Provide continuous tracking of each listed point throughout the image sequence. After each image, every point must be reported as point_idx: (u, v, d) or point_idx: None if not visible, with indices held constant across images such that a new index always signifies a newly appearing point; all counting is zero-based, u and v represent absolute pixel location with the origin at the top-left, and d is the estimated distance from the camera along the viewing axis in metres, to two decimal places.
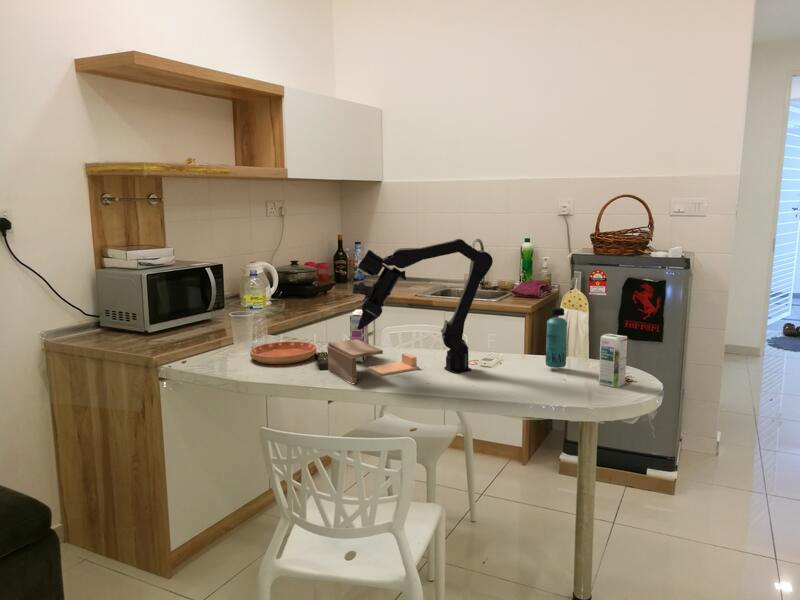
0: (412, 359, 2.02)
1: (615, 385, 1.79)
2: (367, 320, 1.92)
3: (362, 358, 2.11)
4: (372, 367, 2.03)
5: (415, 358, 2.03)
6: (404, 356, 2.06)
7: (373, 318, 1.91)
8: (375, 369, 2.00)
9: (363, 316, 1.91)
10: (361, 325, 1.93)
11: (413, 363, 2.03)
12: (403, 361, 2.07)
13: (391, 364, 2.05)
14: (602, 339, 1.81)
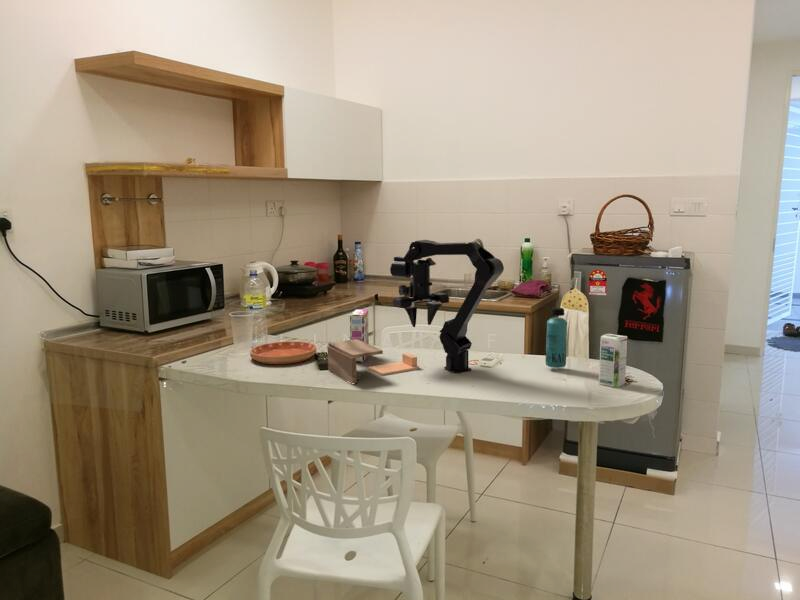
0: (412, 359, 2.02)
1: (615, 385, 1.79)
2: (411, 315, 2.03)
3: (362, 358, 2.11)
4: (372, 367, 2.03)
5: (415, 358, 2.03)
6: (404, 356, 2.06)
7: (411, 311, 2.01)
8: (375, 369, 2.00)
9: (408, 313, 2.04)
10: (412, 322, 2.04)
11: (414, 363, 2.03)
12: (403, 361, 2.07)
13: (391, 364, 2.06)
14: (602, 339, 1.81)
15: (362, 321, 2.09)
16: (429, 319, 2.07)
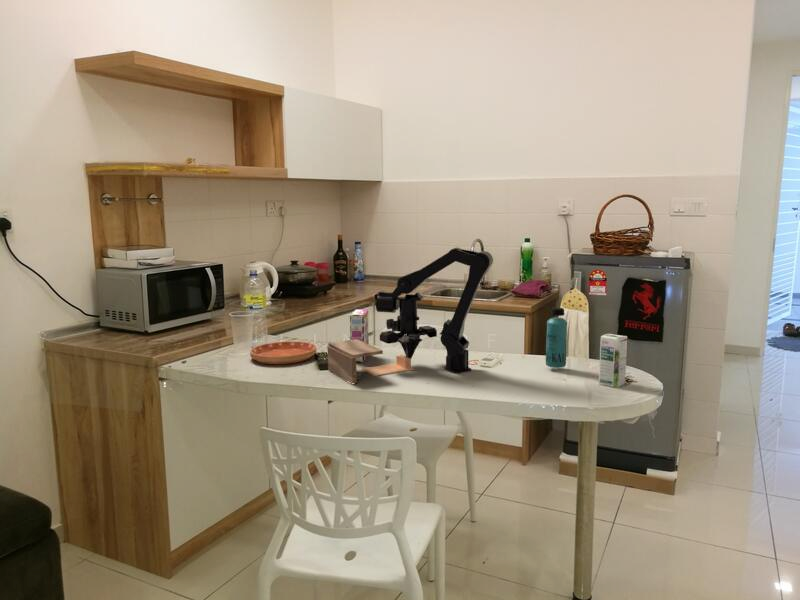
0: (406, 361, 2.02)
1: (615, 385, 1.79)
2: (406, 349, 2.03)
3: (362, 358, 2.11)
4: (366, 368, 2.02)
5: (409, 360, 2.02)
6: (398, 358, 2.05)
7: (406, 345, 2.02)
8: (369, 370, 2.00)
9: (403, 346, 2.05)
10: (406, 355, 2.05)
11: (407, 365, 2.02)
12: (397, 363, 2.06)
13: (385, 366, 2.05)
14: (602, 339, 1.81)
15: (362, 321, 2.09)
16: None
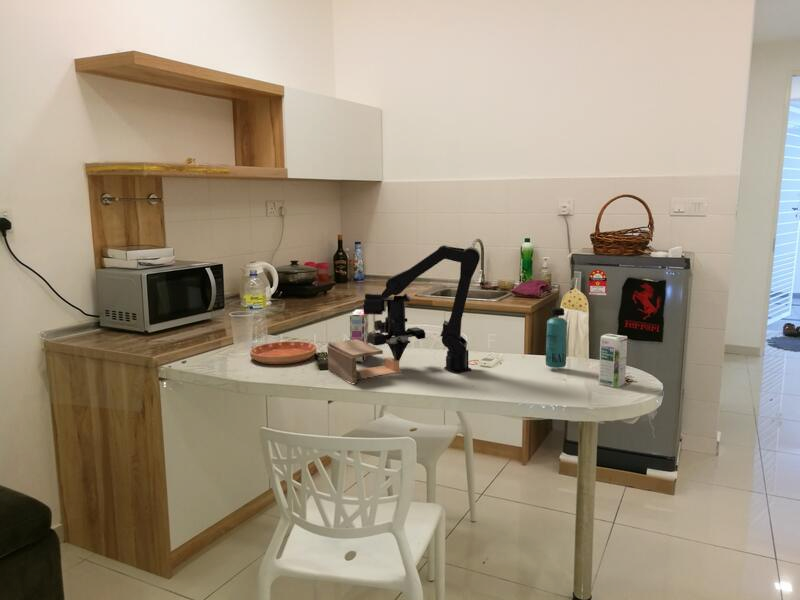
0: (394, 363, 1.99)
1: (615, 385, 1.79)
2: (394, 350, 2.01)
3: (362, 358, 2.11)
4: None
5: (398, 362, 2.00)
6: (387, 360, 2.03)
7: (394, 347, 2.00)
8: None
9: (391, 348, 2.02)
10: (394, 357, 2.03)
11: (396, 367, 2.00)
12: (386, 365, 2.04)
13: (373, 368, 2.02)
14: (602, 339, 1.81)
15: (362, 321, 2.09)
16: None
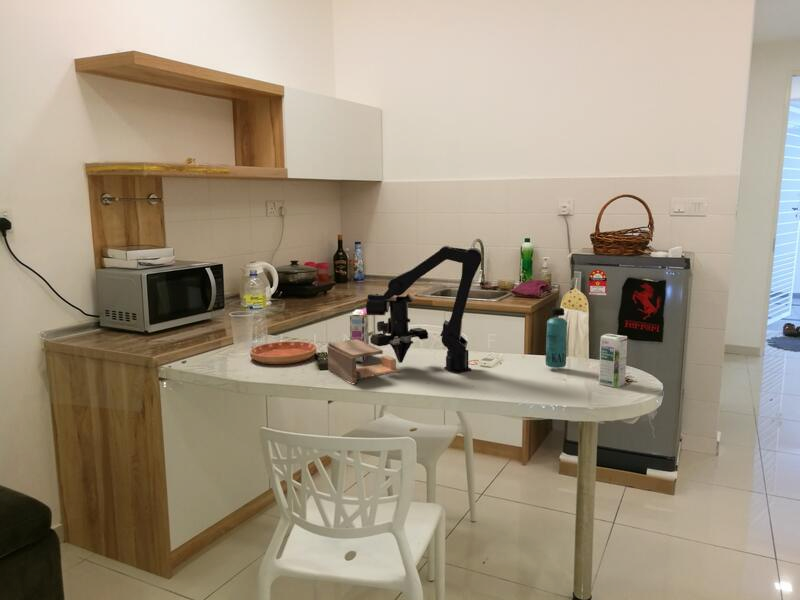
0: (391, 361, 2.00)
1: (615, 385, 1.79)
2: (397, 351, 2.02)
3: (362, 358, 2.11)
4: None
5: (394, 360, 2.00)
6: (384, 358, 2.03)
7: (397, 347, 2.00)
8: None
9: (394, 349, 2.03)
10: (398, 358, 2.03)
11: (392, 365, 2.00)
12: (383, 363, 2.04)
13: (370, 367, 2.03)
14: (602, 339, 1.81)
15: (362, 321, 2.09)
16: None
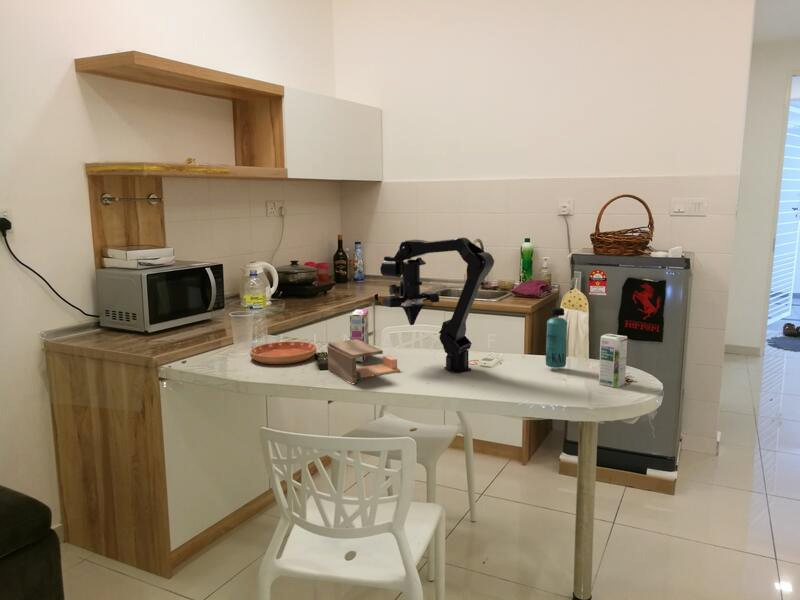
0: (392, 361, 2.00)
1: (615, 385, 1.79)
2: (409, 313, 2.06)
3: (362, 358, 2.11)
4: None
5: (395, 360, 2.01)
6: (385, 358, 2.04)
7: (409, 309, 2.04)
8: None
9: (405, 311, 2.07)
10: (409, 320, 2.07)
11: (393, 365, 2.01)
12: (384, 363, 2.05)
13: (371, 366, 2.03)
14: (602, 339, 1.81)
15: (362, 321, 2.09)
16: None
